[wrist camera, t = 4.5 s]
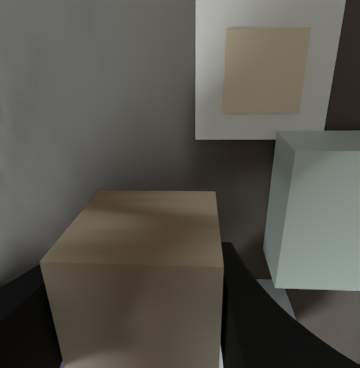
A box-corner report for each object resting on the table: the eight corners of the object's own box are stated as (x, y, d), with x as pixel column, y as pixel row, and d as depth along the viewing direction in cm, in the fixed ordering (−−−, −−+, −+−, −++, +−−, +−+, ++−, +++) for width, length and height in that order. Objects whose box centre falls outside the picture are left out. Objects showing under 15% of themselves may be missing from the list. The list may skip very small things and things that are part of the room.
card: (195, 138, 17) (195, 140, 16) (195, -3, 14) (195, -6, 14) (320, 138, 16) (323, 140, 16) (344, -9, 14) (349, -11, 13)
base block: (262, 248, 19) (274, 288, 16) (276, 131, 16) (295, 151, 13) (388, 251, 19) (426, 293, 16) (431, 129, 15) (490, 150, 12)
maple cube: (111, 282, 14) (68, 384, 10) (99, 189, 13) (39, 262, 8) (212, 285, 14) (217, 393, 9) (215, 191, 12) (223, 267, 8)
